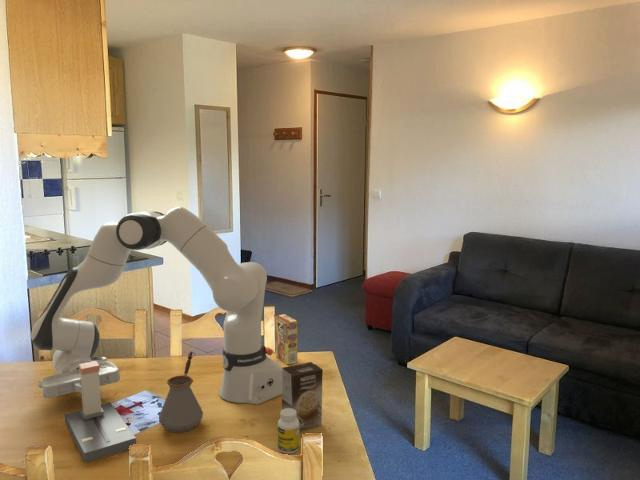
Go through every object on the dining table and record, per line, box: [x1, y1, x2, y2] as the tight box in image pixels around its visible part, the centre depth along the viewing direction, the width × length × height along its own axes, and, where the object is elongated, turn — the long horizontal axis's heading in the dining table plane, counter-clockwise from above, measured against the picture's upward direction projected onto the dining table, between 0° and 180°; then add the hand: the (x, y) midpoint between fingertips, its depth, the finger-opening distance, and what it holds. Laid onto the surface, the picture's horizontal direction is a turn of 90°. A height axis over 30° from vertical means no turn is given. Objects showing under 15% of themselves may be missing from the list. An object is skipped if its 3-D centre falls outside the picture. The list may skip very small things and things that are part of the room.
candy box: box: [274, 313, 298, 365], centre depth 190 cm, size 9×4×15 cm, turn 33°
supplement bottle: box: [277, 408, 300, 454], centre depth 135 cm, size 5×5×10 cm
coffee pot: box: [158, 350, 204, 434], centre depth 150 cm, size 21×12×15 cm, turn 1°
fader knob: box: [78, 361, 104, 420], centre depth 145 cm, size 5×4×14 cm
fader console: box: [64, 401, 137, 464], centre depth 142 cm, size 12×23×3 cm, turn 35°
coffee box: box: [281, 361, 324, 432], centre depth 146 cm, size 9×6×16 cm
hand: (87, 390), depth 149 cm, fingers closed
